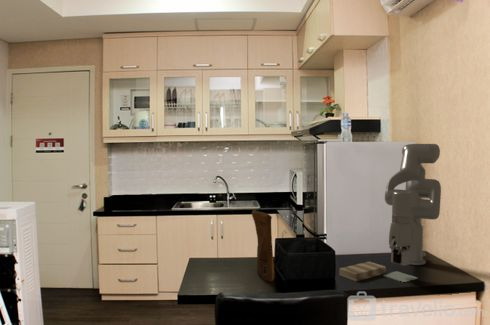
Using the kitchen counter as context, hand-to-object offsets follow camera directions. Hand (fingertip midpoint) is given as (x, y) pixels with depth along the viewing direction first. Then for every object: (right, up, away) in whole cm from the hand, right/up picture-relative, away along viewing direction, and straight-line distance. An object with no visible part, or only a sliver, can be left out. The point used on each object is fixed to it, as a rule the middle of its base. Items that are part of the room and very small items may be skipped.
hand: (400, 261), depth 154 cm
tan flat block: (-15, -7, +4) cm, 17 cm away
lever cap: (0, -1, 0) cm, 1 cm away
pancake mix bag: (-59, -6, 0) cm, 60 cm away
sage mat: (0, -7, 0) cm, 7 cm away
